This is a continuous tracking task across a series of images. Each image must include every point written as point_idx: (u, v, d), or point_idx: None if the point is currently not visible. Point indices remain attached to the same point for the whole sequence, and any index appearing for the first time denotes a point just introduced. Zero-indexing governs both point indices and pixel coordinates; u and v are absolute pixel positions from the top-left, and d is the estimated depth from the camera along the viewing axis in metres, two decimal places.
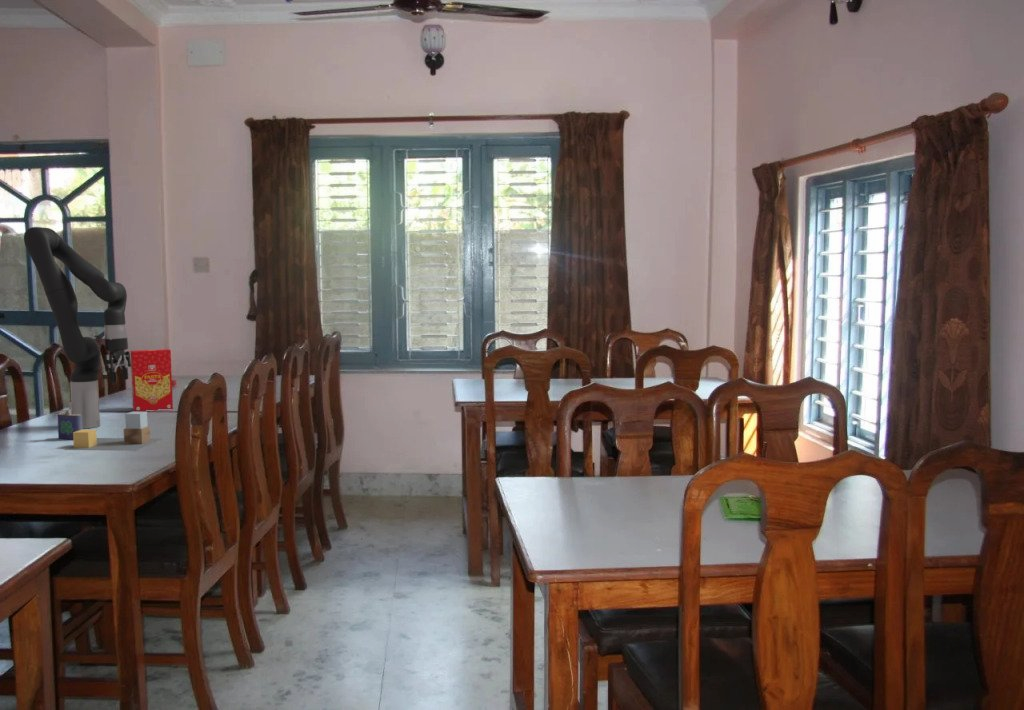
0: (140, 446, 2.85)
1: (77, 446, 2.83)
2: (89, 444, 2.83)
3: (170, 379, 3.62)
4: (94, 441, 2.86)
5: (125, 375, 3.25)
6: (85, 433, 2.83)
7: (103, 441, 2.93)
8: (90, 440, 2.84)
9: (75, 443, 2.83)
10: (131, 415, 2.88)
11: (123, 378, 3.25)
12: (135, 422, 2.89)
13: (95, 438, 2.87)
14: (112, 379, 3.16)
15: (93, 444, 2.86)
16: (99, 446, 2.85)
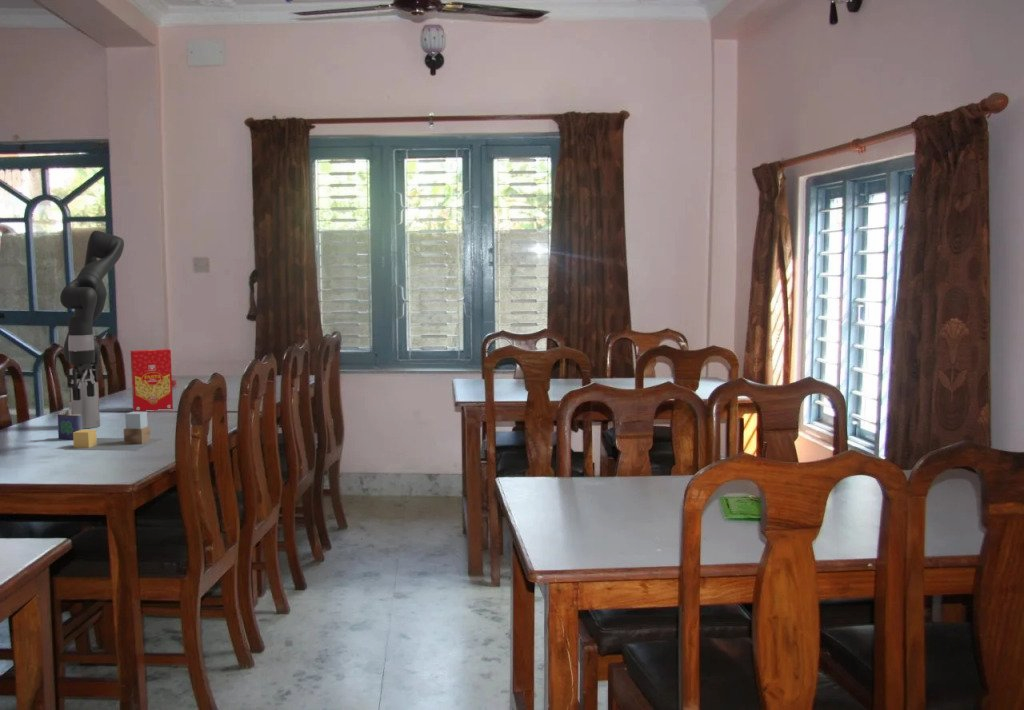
0: (140, 446, 2.85)
1: (77, 446, 2.83)
2: (89, 444, 2.83)
3: (170, 379, 3.62)
4: (94, 441, 2.86)
5: (91, 392, 2.88)
6: (85, 433, 2.83)
7: (103, 441, 2.93)
8: (90, 440, 2.84)
9: (75, 443, 2.83)
10: (131, 415, 2.88)
11: (89, 395, 2.88)
12: (135, 422, 2.89)
13: (95, 438, 2.87)
14: (75, 396, 2.79)
15: (93, 444, 2.86)
16: (99, 446, 2.85)
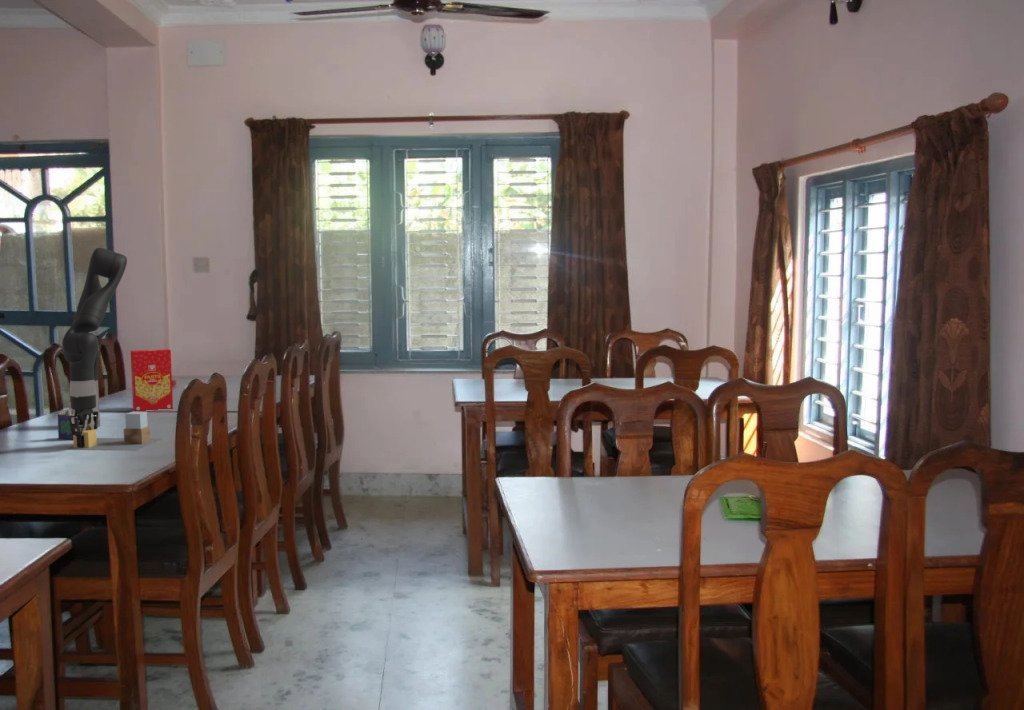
0: (140, 446, 2.85)
1: None
2: (89, 444, 2.83)
3: (170, 379, 3.62)
4: (94, 441, 2.86)
5: None
6: (85, 433, 2.83)
7: (103, 441, 2.93)
8: (90, 440, 2.84)
9: (75, 443, 2.83)
10: (131, 415, 2.88)
11: None
12: (135, 422, 2.89)
13: (95, 438, 2.87)
14: (79, 444, 2.82)
15: (93, 444, 2.86)
16: (99, 446, 2.85)
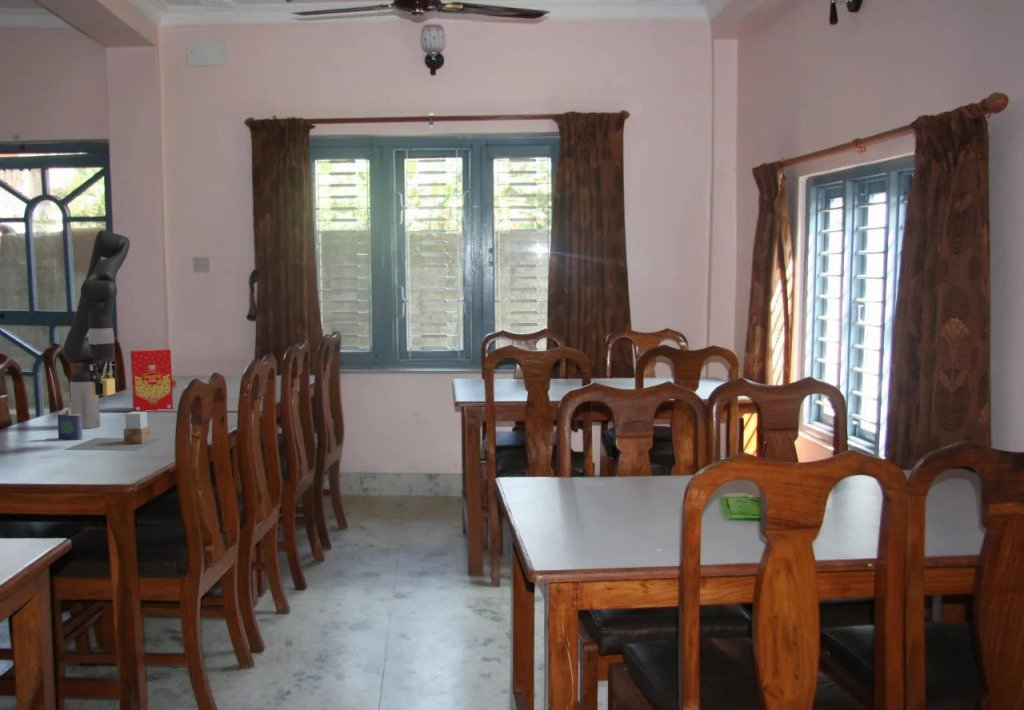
0: (140, 446, 2.85)
1: None
2: (107, 392, 2.84)
3: (170, 379, 3.62)
4: (113, 390, 2.87)
5: None
6: (103, 381, 2.83)
7: (103, 441, 2.93)
8: (108, 388, 2.84)
9: (94, 391, 2.84)
10: (131, 415, 2.88)
11: None
12: (135, 422, 2.89)
13: (113, 387, 2.88)
14: (98, 391, 2.82)
15: (111, 392, 2.86)
16: (99, 446, 2.85)
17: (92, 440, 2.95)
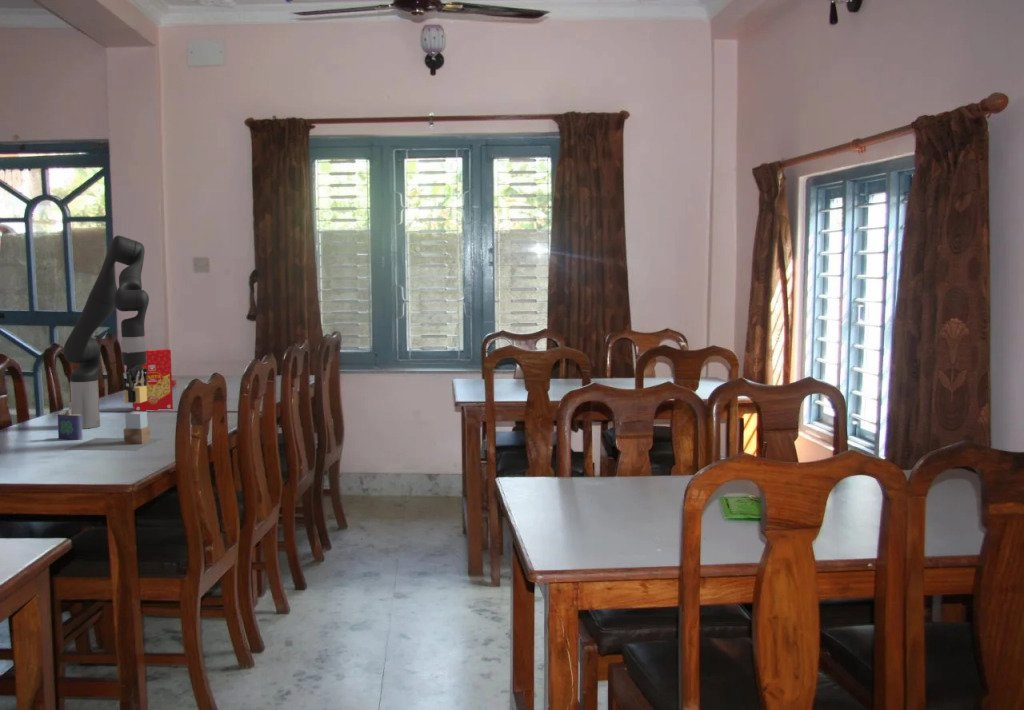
0: (140, 446, 2.85)
1: None
2: (140, 399, 2.88)
3: (170, 379, 3.62)
4: (145, 397, 2.92)
5: None
6: (136, 388, 2.88)
7: (103, 441, 2.93)
8: (141, 395, 2.89)
9: (126, 398, 2.88)
10: (131, 415, 2.88)
11: None
12: (135, 422, 2.89)
13: (145, 394, 2.92)
14: (131, 399, 2.87)
15: (144, 400, 2.91)
16: (99, 446, 2.85)
17: (92, 440, 2.95)
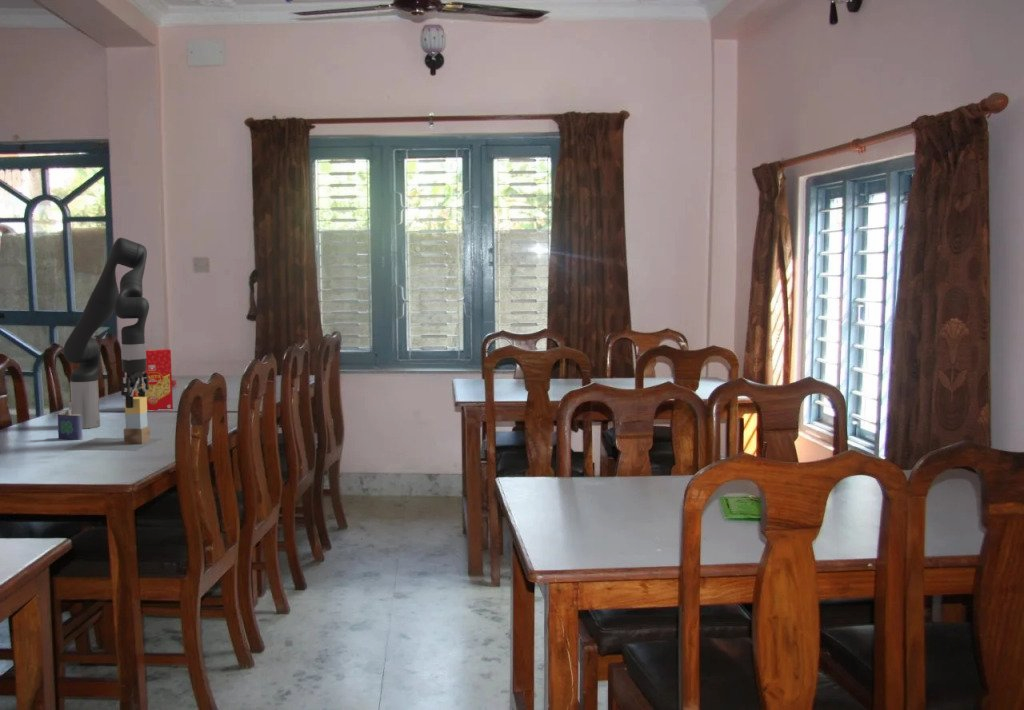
0: (140, 446, 2.85)
1: (129, 412, 2.89)
2: (140, 410, 2.89)
3: (170, 379, 3.62)
4: (145, 408, 2.92)
5: None
6: (136, 399, 2.88)
7: (103, 441, 2.93)
8: (141, 406, 2.89)
9: (127, 409, 2.88)
10: (131, 415, 2.88)
11: None
12: (135, 422, 2.89)
13: (146, 405, 2.92)
14: (128, 404, 2.85)
15: (144, 411, 2.91)
16: (99, 446, 2.85)
17: (92, 440, 2.95)
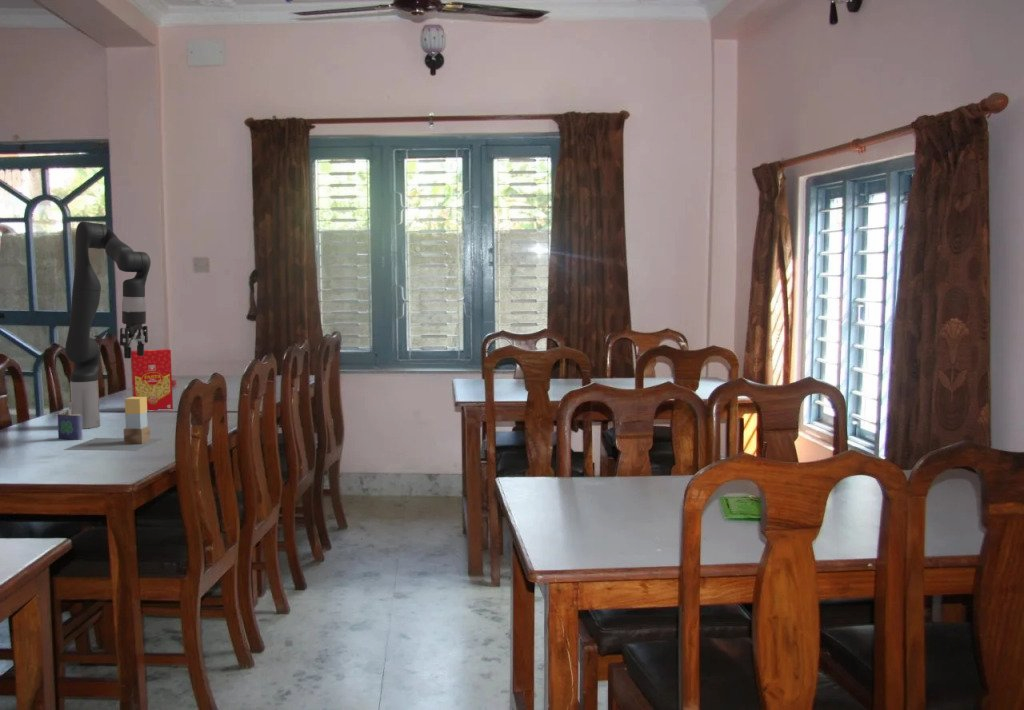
0: (140, 446, 2.85)
1: (129, 412, 2.89)
2: (140, 410, 2.89)
3: (170, 379, 3.62)
4: (145, 408, 2.92)
5: (141, 351, 3.04)
6: (136, 399, 2.88)
7: (103, 441, 2.93)
8: (141, 406, 2.89)
9: (127, 409, 2.88)
10: (131, 415, 2.88)
11: (138, 354, 3.05)
12: (135, 422, 2.89)
13: (146, 405, 2.92)
14: (126, 354, 2.96)
15: (144, 411, 2.91)
16: (99, 446, 2.85)
17: (92, 440, 2.95)
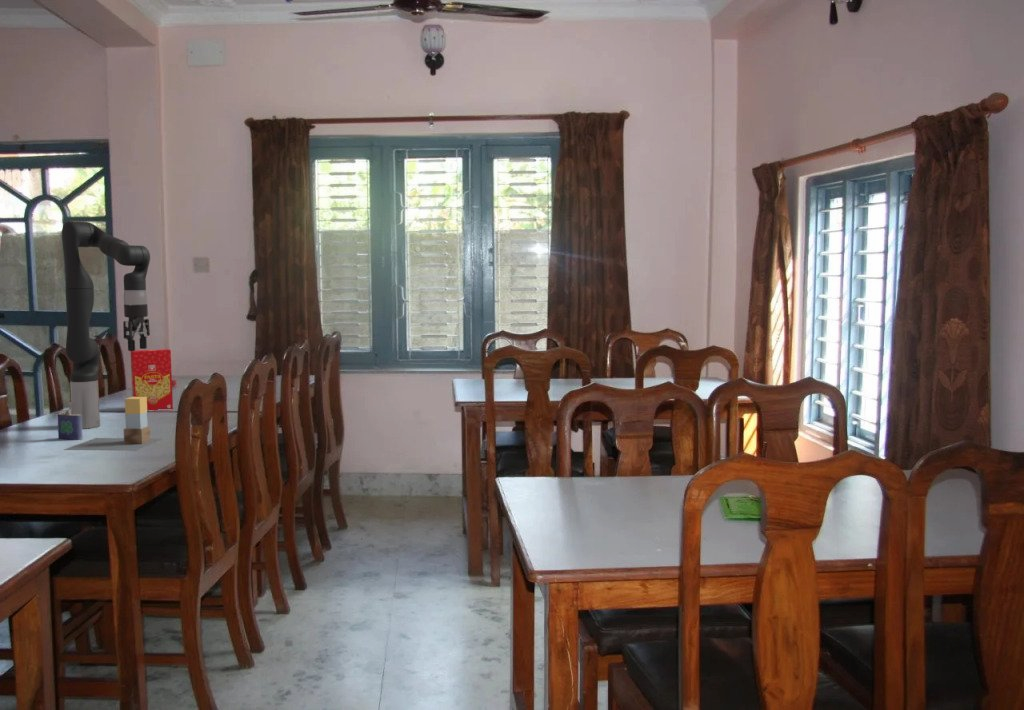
0: (140, 446, 2.85)
1: (129, 412, 2.89)
2: (140, 410, 2.89)
3: (170, 379, 3.62)
4: (145, 408, 2.92)
5: (143, 344, 3.08)
6: (136, 399, 2.88)
7: (103, 441, 2.93)
8: (141, 406, 2.89)
9: (127, 409, 2.88)
10: (131, 415, 2.88)
11: (141, 347, 3.08)
12: (135, 422, 2.89)
13: (146, 405, 2.92)
14: (130, 347, 2.99)
15: (144, 411, 2.91)
16: (99, 446, 2.85)
17: (92, 440, 2.95)
